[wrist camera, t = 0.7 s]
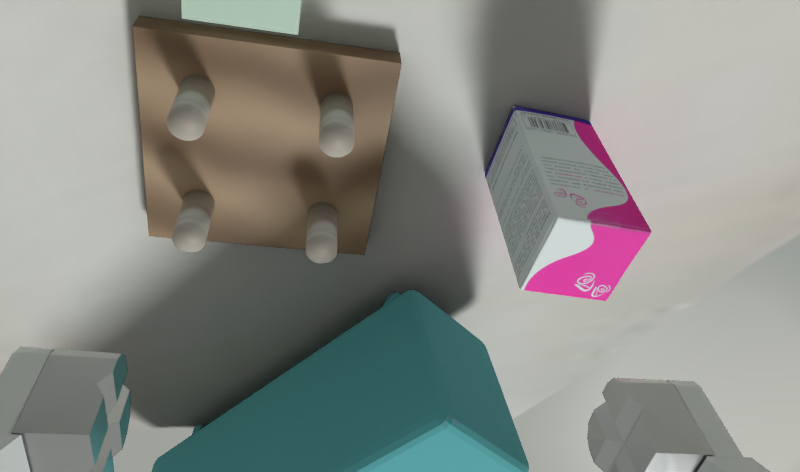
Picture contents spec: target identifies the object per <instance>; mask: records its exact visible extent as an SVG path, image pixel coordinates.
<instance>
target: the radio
mask: <svg viewBox="0 0 800 472" xmlns="http://www.w3.org/2000/svg"><path fill="white" fill-rule="evenodd" d="M528 470H529V465H528V461H527V459H526V456H525V453H524V450H523V448H522V445H521V442H520V440H519V437H518V434H517V431H516V428H515V426H514V423H513V420H512V417H511V415H510V412H509V409H508V406H507V404H506V401H505V398H504V395H503V393H502V390H501V387H500V385H499V382H498V379H497V376H496V374H495V371H494V368H493V365H492V363H491V360H490V357H489V354H488V352H487V349H486V347H485V345H484V344H483V343H482V341H480V340H479V339H478V338H477V337H475V336H474V335H473V334H471V333H470V332H469V331H468V330H466V329H465V328H464V327H463V326H461V325H460V324H459V323H458V322H456V321H455V320H454V319H453V318H451V317H450V316H449V315H447V314H446V313H445V312H444V311H442V310H441V309H440V308H439V307H437V306H436V305H435V304H434V303H432V302H431V301H430V300H429V299H427V298H426V297H425V296H423V295H422V294H421V293H420V292H418V291H416V290H408V291H406V292H404V293H402V294H400V293H398V292H394V293H392V294H391V295H390V296H388V298H387V299H386V301H385V303H384V305H383V306H382V308H380V309H379V310H377V311H376V312H374V313H373V314H371V315H370V316H368V317H367V318H365V319H364V320H362V321H361V322H359V323H358V324H356V325H355V326H353V327H352V328H350V329H349V330H347V331H346V332H344V333H343V334H341V335H340V336H339V337H337V338H336V339H334V340H333V341H331V342H330V343H328V344H327V345H325V346H324V347H322V348H321V349H319V350H318V351H316V352H315V353H313V354H312V355H310V356H309V357H307V358H306V359H304V360H303V361H301V362H300V363H298V364H297V365H295V366H294V367H292V368H291V369H289V370H288V371H287V372H285V373H284V374H282V375H281V376H279V377H278V378H276V379H275V380H273V381H272V382H270V383H269V384H267V385H266V386H264V387H263V388H261V389H260V390H258V391H257V392H255V393H254V394H252V395H251V396H249V397H248V398H246V399H245V400H243V401H242V402H240V403H239V404H238V405H236V406H235V407H233V408H232V409H230V410H229V411H227V412H226V413H224V414H223V415H221V416H220V417H218V418H217V419H215V420H214V421H212V422H211V423H209V424H208V425H206V426H205V427H203V426H202V425H198V426H196V427H195V428H194V430H193V434H192V435H191V436H190V437H188V438H187V439H186V440H184V441H183V442H181V443H180V444H178V445H177V446H175V447H174V448H172V449H171V450H169V451H168V452H166V453H165V454H163V455H162V456H160V457H159V458H158V459H157V460H156V462H155V463H154V466H153V469H152V472H528Z"/></svg>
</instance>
